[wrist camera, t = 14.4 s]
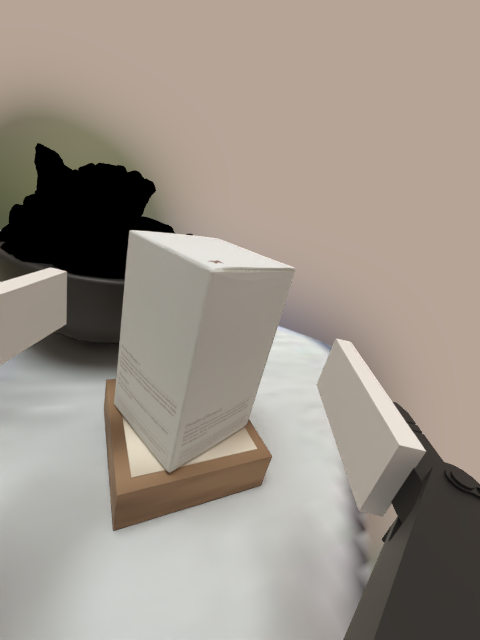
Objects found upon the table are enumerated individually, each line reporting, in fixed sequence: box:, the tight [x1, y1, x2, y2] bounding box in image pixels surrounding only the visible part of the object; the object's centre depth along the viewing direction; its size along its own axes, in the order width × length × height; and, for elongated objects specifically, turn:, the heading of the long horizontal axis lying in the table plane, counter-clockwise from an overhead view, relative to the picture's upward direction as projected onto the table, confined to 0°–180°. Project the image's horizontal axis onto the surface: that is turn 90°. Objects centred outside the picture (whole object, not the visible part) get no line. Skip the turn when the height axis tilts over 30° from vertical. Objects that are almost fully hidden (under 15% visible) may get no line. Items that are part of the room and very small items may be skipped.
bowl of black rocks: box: [0, 143, 193, 343], centre depth 31 cm, size 20×20×19 cm
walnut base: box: [104, 379, 272, 531], centre depth 22 cm, size 10×10×3 cm
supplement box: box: [114, 230, 295, 473], centre depth 19 cm, size 7×7×13 cm
